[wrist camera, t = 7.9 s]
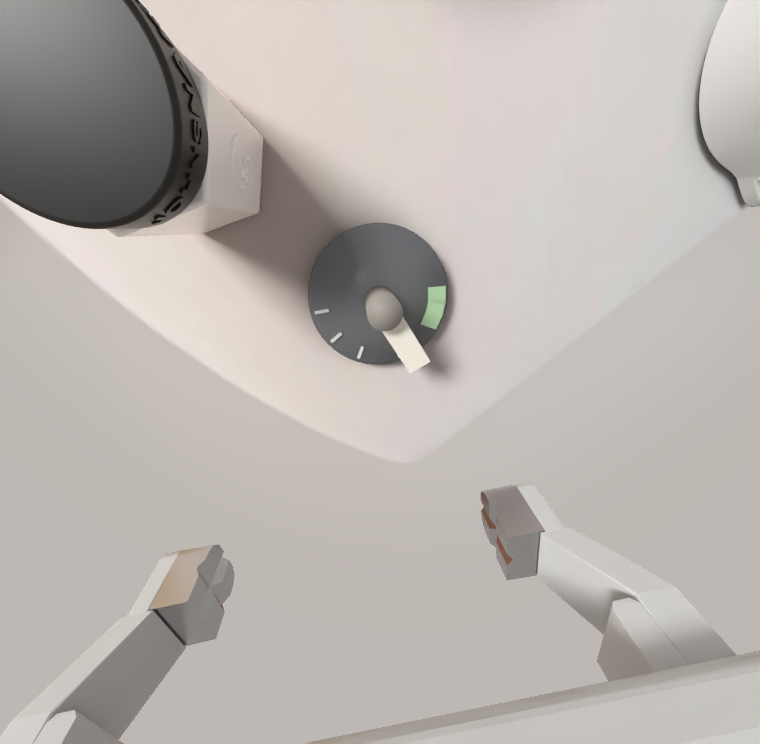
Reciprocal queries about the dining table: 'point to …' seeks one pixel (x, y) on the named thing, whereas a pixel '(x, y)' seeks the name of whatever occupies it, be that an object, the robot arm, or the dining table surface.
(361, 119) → the dining table surface
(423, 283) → the dial
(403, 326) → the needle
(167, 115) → the jar
